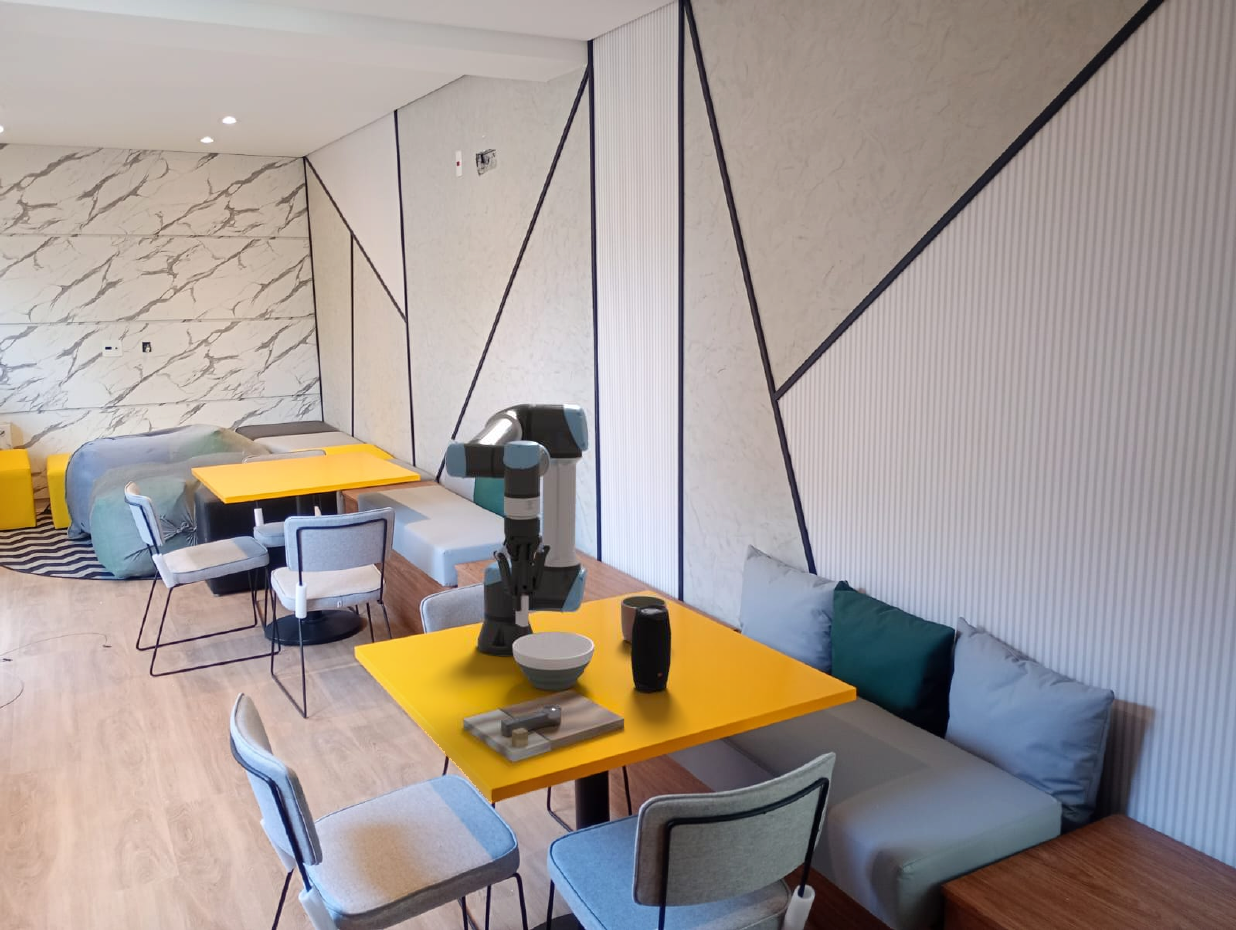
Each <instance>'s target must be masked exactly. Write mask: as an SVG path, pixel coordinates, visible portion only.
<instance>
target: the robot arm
mask: <svg viewBox="0 0 1236 930" xmlns="http://www.w3.org/2000/svg"><path fill="white" fill-rule="evenodd" d="M587 422H588V421H587V417H586V413H585V411H584V409H583V408H582V407H581V406H579V405H576V404H575V405H574V404H565V403H564V404H563V403H561V404H560V403H559V404H558V403H557V404H554V403H553V404H552V403H551V404H547V403H546V404H545V403H540V404H535V403H521V404H516V405H512V406H509V407H506V408H504V409H501V410H499V411H498V412H495V413H494V414H493V415H492V416H490V417H489V418H488V420H487V421H486V423H485V425H484V428H483V429H481V430H480V431H479V432H478V433H477V434H476V435H475V436H474V437H473V438H472V439H471V440H469V441H468V442H467V443H463V442H456V443H450V444H449V445H448V447H447V449H446V452H445V458H444V459H445V470H446V473H447V475H448V476H449V477H452V478H460V479H461V478H462V479H494V480H497V479H498V480H503V487H504V489H503V490H504V491H503V514H504V515H505V517H504V518H503V533H504V537H505V538H504V540H503V543H502V547H501V548H500V549H499V550H495V551H493V552H492V553H493V557H494V559H495V560H496V561H494V562H491V563H490V564H488V565H487V566H486V567H485V569H484V572H483V573H484V574H483V582H482V584H483V622H482V625H481V628H480V631H479V635H478V637H477V650H478V651H479V652H480V653H483V654H486V655H489V656H495V657H514V655H513V643H514V642H515V641H516V640H517V639H519V638H521V637H523V636H526V635H530V634H534V632H533V628H532V626H531V623H530V619H529V611H532V612H533V611H534V612H535V611H536V612H552V613H553V612H554V613H555V612H557V613H561V614H563V613H574V612H577V611H578V610H579V609H580V608H581V606H582V601H583V600H584V599H583V597H584V594H585V589H586V588H585V587H586V581H587V569H586V567H583V566H582V567H581V565H582V563H581V562H582V560H581V559H580V558H579V557H578V556H577V554H576V504H577V503H576V502H577V501H576V500H577V498H576V495H577V490H576V489H577V486H576V485H577V481H576V480H577V463H578V462H579V461H580V460H581V459H582V458H583V452H586V451H588V449H589V430H588V423H587ZM541 478H542V522H541V517H540V516H539V515H540V514H541ZM541 523H542V524H541ZM541 525H542V526H541ZM541 527H542V528H541ZM541 529H542V530H541ZM540 533H541V534H542V536H541V537H540ZM541 539H542V540H541Z"/></svg>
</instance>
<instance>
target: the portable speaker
mask: <svg viewBox="0 0 1236 930" xmlns="http://www.w3.org/2000/svg"><path fill="white" fill-rule="evenodd" d="M630 645H631V646H630V647H631V651H630V661H631V663H630V665H631V672H632V680H633V684H634V687H635V689H636V691H638V692H640V693H646V694H650V693H651V692H652V691H655V690H661V691H665V690H666V689H667V686H668V685H667V684H668V680H669V676H670V675H669V674H670V668H671V659H672V628H671V621H670V613H669V610H668V608H667V606H666V607H665V606H663V605H659V604H650V605H647V606H642V607H636V611H635V618H634V623H633V627H632V643H631V644H630Z"/></svg>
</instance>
